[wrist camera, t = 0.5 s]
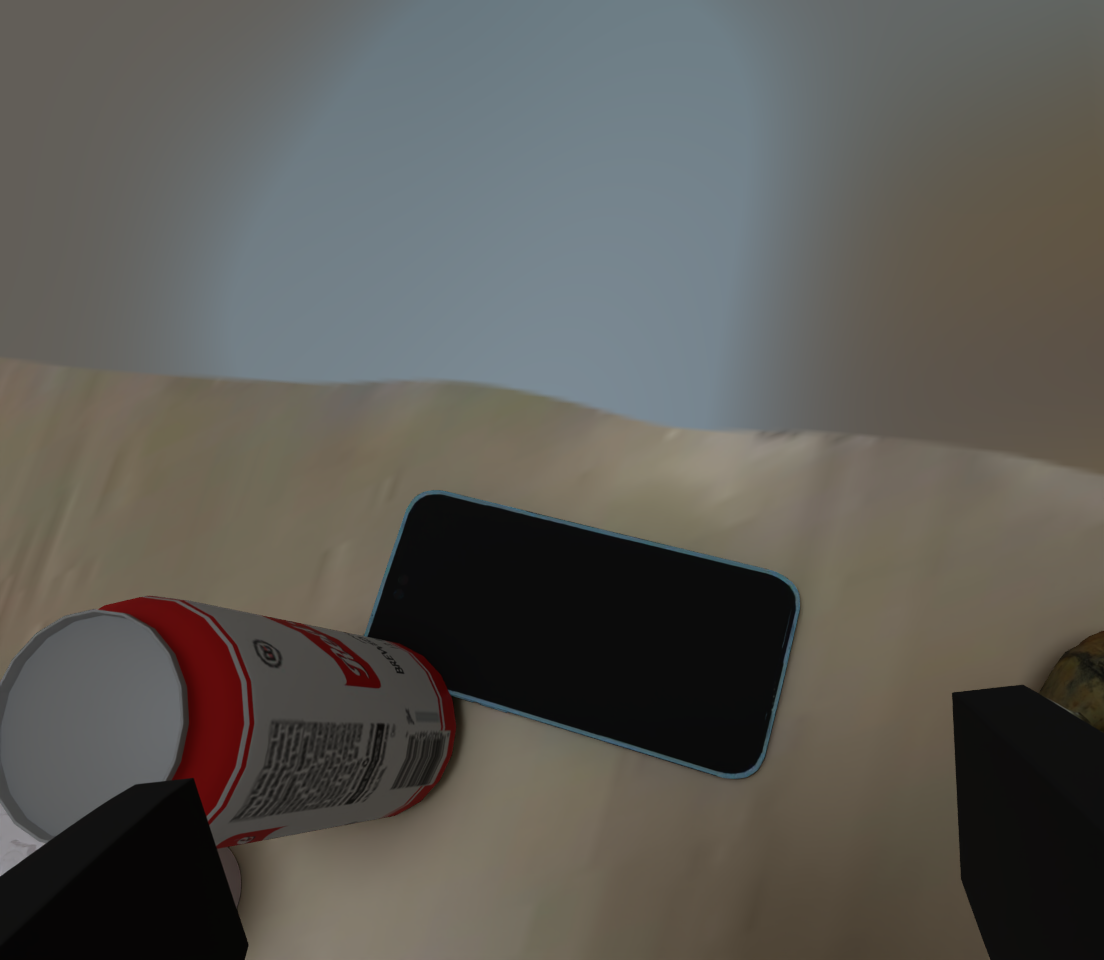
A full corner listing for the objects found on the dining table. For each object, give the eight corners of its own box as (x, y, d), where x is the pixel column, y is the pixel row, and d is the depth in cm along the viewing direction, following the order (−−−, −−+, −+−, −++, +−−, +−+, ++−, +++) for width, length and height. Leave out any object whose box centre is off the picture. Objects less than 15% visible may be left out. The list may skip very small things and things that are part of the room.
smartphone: (757, 789, 32) (353, 666, 37) (757, 789, 33) (365, 668, 38) (807, 578, 34) (414, 482, 38) (806, 583, 35) (424, 490, 39)
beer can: (434, 842, 35) (144, 922, 20) (286, 785, 37) (-77, 820, 22) (487, 670, 36) (247, 626, 21) (340, 623, 38) (26, 553, 23)
